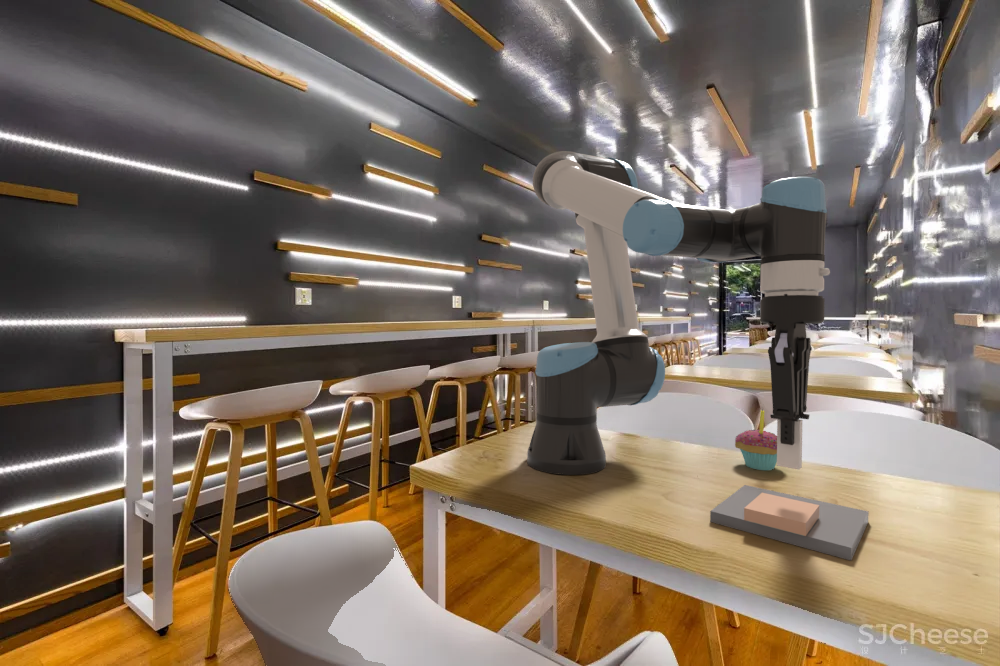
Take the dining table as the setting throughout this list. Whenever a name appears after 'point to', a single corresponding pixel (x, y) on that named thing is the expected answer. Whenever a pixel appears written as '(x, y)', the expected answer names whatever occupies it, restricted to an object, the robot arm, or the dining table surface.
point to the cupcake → (758, 447)
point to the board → (828, 535)
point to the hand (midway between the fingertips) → (789, 466)
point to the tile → (782, 513)
